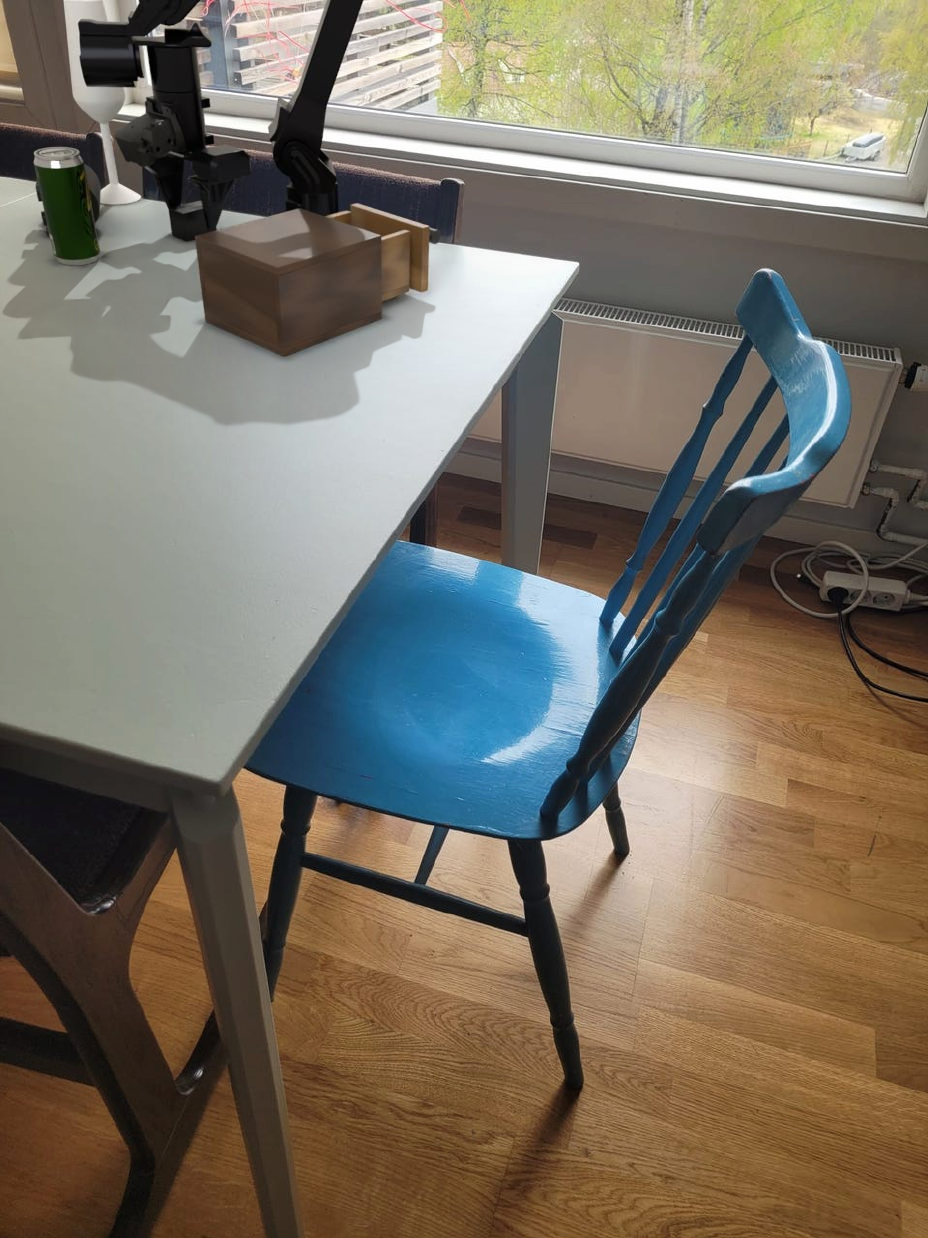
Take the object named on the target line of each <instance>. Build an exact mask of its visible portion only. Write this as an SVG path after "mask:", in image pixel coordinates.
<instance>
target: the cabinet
mask: <svg viewBox="0 0 928 1238" xmlns="http://www.w3.org/2000/svg"><path fill="white" fill-rule="evenodd" d="M194 241H195V249H196V250H195V251H196V256H197V257H196V258H197V264H198V265H197V266H198V273H199V281H200V289H201V299H202V307H203V314H204V321H205V323H208V324H210V325H211V326H214V327H216V328H219V329H221V330H223V331H225V332H228V333H230V334H232V335H234V336H236V337H239V338H241V339H243V340H246V341H248V342H250V343H253V344H255V345H257V346H259V347H262V348H264V349H266V350H267V351H270V352H273V353H275V354H278V355H280V356H282V357H287V356H288V355H292V354H294V353H297V352H300V351H302V350H304V349H308V348H310V347H312V346H315V345H317V344H320V343H323V342H325V341H328V340H330V339H333V338H335V337H338V336H341V335H343V334H346V333H348V332H351V331H353V330H356V329H359V328H361V327H364V326H366V325H369V324H371V323H374V322H377V321H379V320H382V318H383V312H382V311H383V304H382V303H383V301H382V257H381V235H378V234H375V233H372V232H369V231H366V230H363V229H360V228H357V227H355V226H352V225H349V224H346V223H343V222H340V221H337V220H334V219H331V218H328V217H325V216H322V215H319V214H316V213H313V212H310V211H307V210H304V209H301V208H299V209H295V210H291V211H287V212H286V211H284V212H281V213H277V214H272V215H269V216H265V217H261V218H258V219H254V220H250V221H246V222H243V223H239V224H235V225H232V226H228V227H223V228H220V229H217V230H216V231H212V232H208V233H205V234H201V235H197V236H195V239H194Z"/></svg>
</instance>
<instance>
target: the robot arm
mask: <svg viewBox="0 0 928 1238" xmlns="http://www.w3.org/2000/svg"><path fill="white" fill-rule="evenodd" d="M200 1H201V0H138V4H137V6H136V8H135V10H134V11H133V10H130V12H129V14H128V15H127V21H108V22H105V21H96V20H93V19H81V20H80V21H79V22H78V28H79V41H80V52H81V54H80V56H79V58H80V64H81V69H82V74H83V78H84V81H85V84H86V86H87V87H124V88H131V89H132V88H135V89H137V86H138V82H139V79H145V78H146V68H145V61H144V53H143V48H142V47H146V53H147V60H148V67H149V75H150V76H149V77H150V82H151V90H152V96H151V95H150V96H145V101H144V107H145V112H144V113H143V114H142V115H139V116H137V117H135V118H134V119H132V120H131V121H129V122H128V123H126V124H124V125H123V126H122V127H120V128H119V129H117V130H116V131H114V133H113V137H114V139H115V141H116V143H117V146H118V148H119V151H120V152H121V154H122V156H123V159H124V161H125V162H127V163H134V164H137V165H138V166H139V167H143V168H145V169H146V170H147V171H149V172H150V174H151V176H152V177H153V179H154V181H155V184H156V185H157V187H158V189H159V191H160V194H161V196H162V199H163V201H164V203H165V205H166V207H167V209H168V208H171V207H175V206H179V205H182V199H183V198H182V197H183V184H184V183H183V182H184V170H185V169H184V168H185V161H187V162H191V164H192V170H193V172H194V173H195V175H191V176H188V179H189V180H190V181H191V182H192V183H193V184H194V185H195V186H196V187H197V189H198V190H199V196H200V201H201V202H202V207H203V212H204V218H205V222H206V225H207V229H208V230H214V229H216V228H217V227H218V224H219V222H220V219H221V216H222V212H223V210H224V207H225V204H226V202H227V200H228V199H227V198H228V196H229V193H230V192H231V189H232V188H233V185H234V184H235V181H236V180H238V179H240V178H241V177H245V176H251V175H252V164H251V157H250V155H249V154H248V153H247V152H246V151H245V150H244V149H242V148H238V147H235V146H232V145H229V144H226V143H225V144H221V145H216V146H210V145H215V136H214V134H211V133H208V132H207V129H206V122H205V121H206V119H205V111H204V109H209V108H211V100H210V99H211V98H210V97H208V96H203V93H202V85H201V84H202V83H201V75H200V64H199V56H198V55H199V54H198V48H211V47H212V44H213V37H212V36H211V35H210V34H208V33H207V32H206V31H205V30H204V29H203V27H202V26H201V24H200V22H199V21H198V20H194V21H193V23H192V24H191V26H190V27H189V28H180V27H179V28H177V27H176V28H175V27H172V26H175V25H178V24H179V23H182V22H183V20H184V19H186V17H187V16H188V15H189V14H190V13H191V12H192V11H193V9H194V8H196V6H197V5H198V4H199V2H200ZM363 3H364V0H326V1H325V5H324V7H323V10H322V14H321V16H320V19H319V23H318V26H317V28H316V31H315V34H314V38H313V41H312V44H311V46H310V49H309V53H308V56H307V59H306V62H305V65H304V68H303V71H302V74H301V77H300V80H299V83H298V86H297V88H296V90H295V91H294V93H293V94H292V96H291V98H290V99H289V101H286V100H285V99H283V98H282V97H280V96H278V98H277V102H276V108H275V113H274V117H273V119H272V121H271V122H270V124H269V125H268V126H267V130H268V138H269V142H270V144H271V151H272V152H271V153H272V159H273V162H274V164H275V166H276V168H277V169H278V171H280V173H281V174H283V175H285V176H286V177H288V178H289V179H290V183H289V185H288V184H287V185H286V186H285V187H286V199H285V212H287V211H291V210H295V209H299V208H301V209H304V210H307V211H310V212H313V213H316V214H319V215H322V216H328V215H332V214H335V213H339V212H340V211H339V185H338V184H339V182H337V180H338V177H337V174H336V171H335V167H334V164H333V161H332V159H331V158H330V157H329V155H327V154H326V152H325V151H324V150H322V149H321V148H322V146H323V145H322V144H323V138H324V133H325V132H324V131H325V130H324V129H325V123H326V122H325V121H326V115H327V107H328V104H329V101H330V98H331V95H332V92H333V89H334V86H335V83H336V80H337V78H338V76H339V73H340V70H341V67H342V63H343V61H344V58H345V54H346V52H347V49H348V46H349V43H350V41H351V37H352V35H353V32H354V29H355V26H356V23H357V21H358V18H359V16H360V12H361V8H362V5H363ZM160 25H163V26H165V27H164V28H163V29H164V31H163V33H164V34H163V35H161V36H159V35H158V36H148V35H149V34H151V33H152V32H153V31H154V30H155V29H156V28H158V27H159V26H160ZM207 146H210V147H207Z"/></svg>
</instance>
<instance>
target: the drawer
mask: <svg viewBox="0 0 928 1238" xmlns="http://www.w3.org/2000/svg"><path fill="white" fill-rule="evenodd" d="M349 210H350V211H349ZM349 210H342V211H339V213H335V214H332V215H328V216H325V217H328V218H331V219H334V220H337V221H340V222H343V223H346V224H349V225H352V226H355V227H357V228H360V229H363V230H366V231H369V232H372V233H375V234H378V235H381V257H382V302H385V301H387V300H390V299H393V298H396V297H399V296H401V295H403V294H407V293H409V292H410V290H413V291H416V292H419V293H424V292H426V291H428V290H429V267H430V265H429V263H430V244H433V245H437V244H438V243H439V242H440V240H441V235H442V233H441V231H440V230H438V229H436V228H432V227H430V226H429V225H427V224H424V223H421V222H418V221H416V220H415V221H414V220H412V219H408V218H405V217H402V216H399V215H395V214H392V213H390V212H386V211H383V210H380V209H377V208H373V207H370V206H367V205H364V204H362V203H358V202H357V203H352V204H350V205H349Z"/></svg>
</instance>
